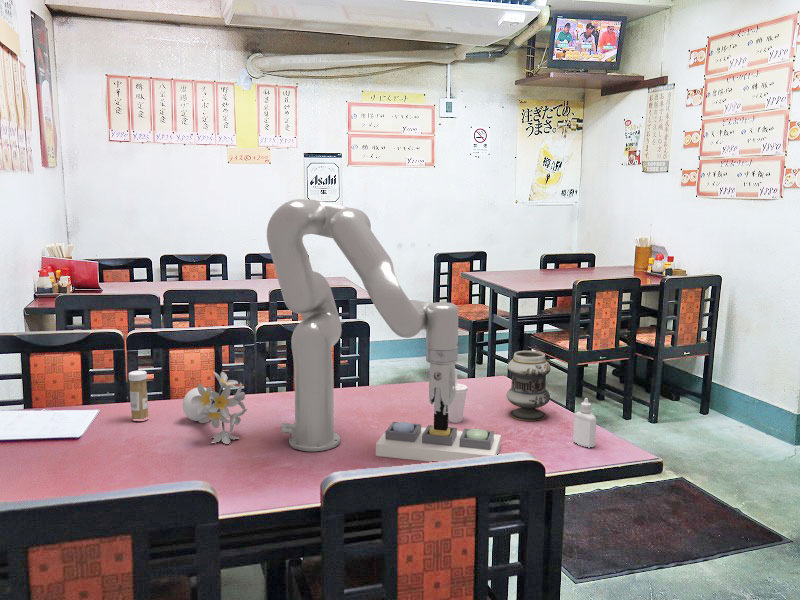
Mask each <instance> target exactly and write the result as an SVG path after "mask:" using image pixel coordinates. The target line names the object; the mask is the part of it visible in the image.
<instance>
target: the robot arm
mask: <svg viewBox="0 0 800 600" xmlns="http://www.w3.org/2000/svg"><path fill="white" fill-rule="evenodd" d="M306 235H315V236H320V237H325V238H329V239H333V241H334V242H335V243H336V245H337V247H338V248H339V249H340V251H341V252H342V254H343V255H344V257H345V258H346V259H347V262H349V263H350V265H351V266H352V268H353V270H354V271H355V273H356V274H357V275H358V277H359V278H360V280H361V283H362V284H363V286H364V289H365V291H366V292H367V295H368V297H369V298H370V299H371V302H372V304H373V305H374V307H375V309H376V310H377V312H378V313H379V315H380V316H381V317H382V319H383V320H384V322H385V323H386V325H388V328H389V329H390V330H391V331H392V332H393V333H394V334H395V335H396V336H398V337H400V338H403V339H405V338H406V339H410V338H414V337H415V336H416V335H418V334H419V333H420V332H421V331H422V330H425V362H426V363H428V364H429V379H428V380H429V381H428V382H429V383H428V400H429V404H430V405H433V426H434V429H435V430H444V431H446V430H447V429H448V427H449V420H448V406H449V405H450V404H451V403H452V401H453V399H454V397H455V394H456V386H455V371H456V364H455V363H458V361H459V359H458V357H459V308H458V306H457V304H455V303H453V302H444V301H439V302H429V301H428V302H427V301H423V300H417V299H409V297H408V296H407V295H406V293H405V291H404V290H403V289H402V286H401V285H400V283H399V281H398V278H397V277H396V276H397V275H396V274H395V270H394V264H393V261H392V259H391V257H390V255H389V253H388V252H387V251H386V249H385V248H384V247H383V246H382V244H381V242H380V241H379V240H378V237H376V235H375V233H373V231H372V225H371V220H370V218H369V216H368V215H367V214H366V213H365V212H364V211H362V210H360V209H358V208H354V207H349V206H343V205H338V204H335V203H334V204H333V203H329V202H324V201H321V200H316V199H310V198H309V199H307V198H305V199H302V198H301V199H292V200H288V201H287V202H285V203H283V204H281V205H280V206H279V207H278V208H277V209H276V210H274V213H272V215H271V217H270V218H269V221H268V223H267V228H266V241H267V246H268V249H269V253H270V257H271V259H272V262H273V265H274V270H275V274H276V278H277V280H278V285H279V288H280V291H281V295H282V298H283V303H284V304H285V307H286V308H287V309H288V310H289V311H290V312H292V313H294V314H297V315H301V318H302V320H301V321H300V322H299V323H298V324H297V325H296V326H295V328H294V329H293V333H292V335H291V340H290V342H291V346H290V347H291V352H292V359H293V370H294V374H293V375H294V380H293V381H294V422H293V423H290V422H289V423H288V422H281V425H280V430H281V434H290V435H291V436H290V437H289V439H288V443H289V445H290V447H291V448H293V449H295V450H297V449H298V451H303V452H322V451H323V452H324V451H328V450H331V449H333V448H335V447H337V446H339V444H341V436H340V435H339V434H338V433H337V432H335V419H334V418H335V416H334V414H335V410H334V409H335V405H334V404H335V403H334V401H335V400H334V397H335V395H334V388H335V386H334V383H335V382H334V381H335V380H334V363H333V357H332V356H333V355H332V348H333V347H334V346H335V345H336V344H337V343H338V342H339V340H340V338H341V336H342V331H343V330H342V323H341V319H340V315H339V312H338V309H337V305H336V301H335V298H334V295H333V292H332V288H331V286H330V283H329V281H328V279H326V277H325V276H324V275H322V274H321V273H319V272H317V271H314V270H313V267H312V264H311V262H310V261H311V260H310V257H309V253H308V251H307V249H306V247H305V245H304V242H303V238H304V236H306Z"/></svg>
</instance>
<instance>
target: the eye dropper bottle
mask: <svg viewBox="0 0 800 600" xmlns="http://www.w3.org/2000/svg"><path fill="white" fill-rule="evenodd" d="M591 406H592V404H591V403H590V402H589V398H587V397H585V398H584V400H583V402H581V403H580V411H576V412H575V413H574V415H573V416H574V417H573V432H572V435H573V436H572V442H573V443H574V442H575V443H577V444H578V445H577V444H576V445H577V446H579V445H581V446H580V447H582V446H585V447H588V448H587V449H591V448H590V447H592V448H594V447H595V445H596V436H597V435H596V434H597V433H596V432H597V417H596V415H594V414H593V413H592V407H591ZM575 443H574V444H575ZM585 447H584V448H585Z"/></svg>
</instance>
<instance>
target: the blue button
mask: <svg viewBox="0 0 800 600" xmlns="http://www.w3.org/2000/svg"><path fill="white" fill-rule="evenodd" d="M397 422H398V423H395V424H394V425H393V431H399V432H409V433H412V432H413V431H414V425H413V424H414V423H412V422H407V421H397Z"/></svg>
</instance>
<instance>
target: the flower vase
mask: <svg viewBox="0 0 800 600" xmlns="http://www.w3.org/2000/svg"><path fill="white" fill-rule="evenodd" d="M212 373H213V374H214V376H215V378H216V379H217V381H218V383H219V386H220V388H219V390H218V392H217V391H213V390H212V387H211V386H210V385H209V386H207V387H204V385H203V384H202V383H198V384H197V387H194V388H192V389H190V390H189V391H188V392H186V393H185V394H186V395H184V397H183V400H182V409H183V413H184V415H185V416H186V417H187V418H188V419H189V420H191V421H194V422H196V421H199V423H200V424H205V423H209V422H210V424H211V426H212V427H213V429H217V428H219V427H220V422H221V425H222V426H221V427H222V431H221V432H219V433H218V434H216V435H214V436H212V437H213V438H214V439H211V441H210V442H218V443H219V442H221V443H222V442H223V443H229V442H231V440H234V441H235V439H238V438H239V437H237V436H235V435H232V434H231V433H232V432H233V430H234V426H238V425H239V424H240V423H241V420H242V419H241V416H243V415H244V414H245V413H246V412H247V411H248V408H246V406H245V404H244V402H243V401H244V400H245V398H246V397H245V396H246V393H245V392H244V391H242V387H243V386H242V382H240V383H239V382H238V380H234V379H229V380H228V378H229V377H228V376H227V373H226V372H224V371H221V372H220V375H219V374H218V373H217V372H215V371H212ZM238 384H239V386H238V387H237V386H236V385H238ZM223 388H224V389H223ZM231 388H232V389H237V391H236V392H235V395H234V396H233V397H232V398H229V397H230V395H231V392H232V391H231ZM238 405H239V407H240V408H241V409H242V410H241V411H238V412H235V413H232V414H231V413H230V412H229V408H232V407H236V406H238ZM228 407H229V408H228ZM228 418H229V419H228ZM225 424H229V432H228V431H225V430H226V429H225ZM223 443H222V444H223Z"/></svg>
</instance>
